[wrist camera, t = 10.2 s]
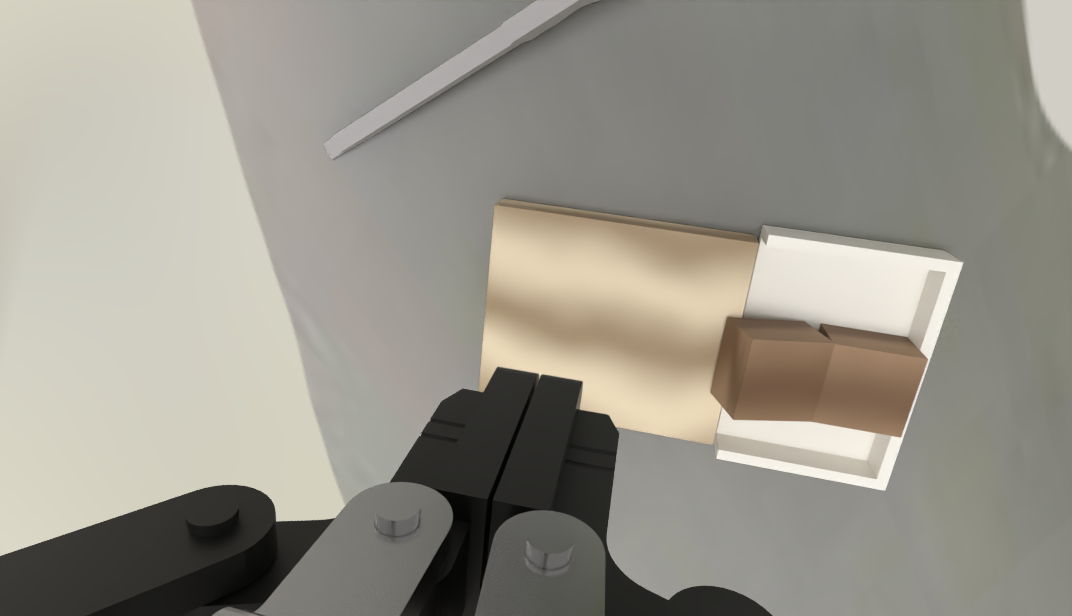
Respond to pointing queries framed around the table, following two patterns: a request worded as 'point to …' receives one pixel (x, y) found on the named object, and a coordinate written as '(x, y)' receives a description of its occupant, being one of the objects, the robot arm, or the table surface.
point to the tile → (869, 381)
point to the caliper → (455, 70)
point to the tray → (848, 301)
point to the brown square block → (771, 369)
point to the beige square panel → (616, 310)
